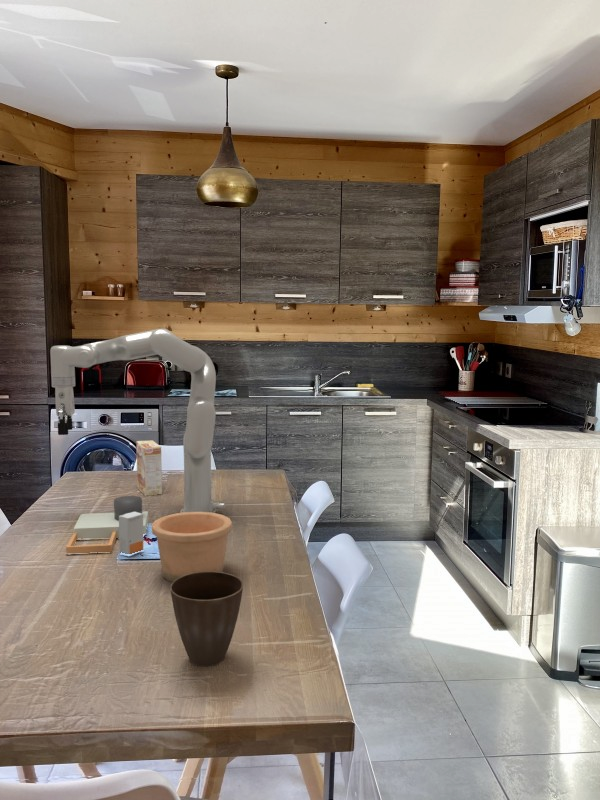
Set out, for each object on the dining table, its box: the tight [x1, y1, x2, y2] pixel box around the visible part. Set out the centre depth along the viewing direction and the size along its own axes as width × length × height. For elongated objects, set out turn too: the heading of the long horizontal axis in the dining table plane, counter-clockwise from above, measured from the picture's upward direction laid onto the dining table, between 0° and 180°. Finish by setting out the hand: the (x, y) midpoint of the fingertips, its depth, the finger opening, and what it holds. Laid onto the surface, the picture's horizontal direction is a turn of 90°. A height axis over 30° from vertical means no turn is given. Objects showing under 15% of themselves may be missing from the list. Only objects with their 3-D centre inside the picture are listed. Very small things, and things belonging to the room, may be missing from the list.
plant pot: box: [169, 571, 244, 667], centre depth 143 cm, size 15×15×16 cm
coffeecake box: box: [135, 439, 163, 497], centre depth 275 cm, size 15×7×20 cm, turn 25°
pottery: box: [151, 512, 233, 583], centre depth 190 cm, size 22×22×14 cm
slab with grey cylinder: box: [65, 495, 149, 554], centre depth 219 cm, size 22×29×10 cm
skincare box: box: [118, 512, 145, 554], centre depth 205 cm, size 6×4×12 cm
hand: (65, 432), depth 234 cm, fingers open, 9 cm apart
